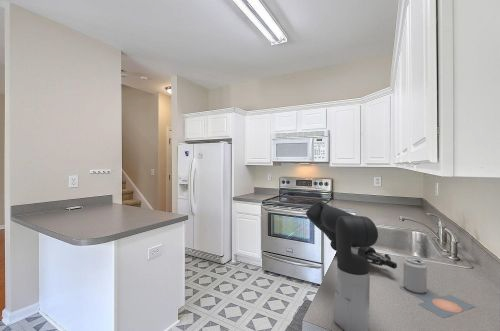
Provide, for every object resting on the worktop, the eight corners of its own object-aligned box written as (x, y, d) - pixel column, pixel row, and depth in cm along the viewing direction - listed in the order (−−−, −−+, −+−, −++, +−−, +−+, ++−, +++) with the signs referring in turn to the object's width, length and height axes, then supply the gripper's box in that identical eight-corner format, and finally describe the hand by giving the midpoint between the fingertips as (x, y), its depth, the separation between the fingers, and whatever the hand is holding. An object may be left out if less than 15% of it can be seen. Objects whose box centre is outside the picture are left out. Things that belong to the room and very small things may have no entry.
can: (430, 295, 87) (431, 264, 87) (408, 293, 89) (408, 262, 89) (420, 285, 95) (420, 256, 95) (400, 283, 96) (400, 255, 96)
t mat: (443, 319, 75) (443, 317, 75) (391, 290, 91) (391, 289, 91) (475, 307, 81) (475, 306, 81) (421, 282, 98) (421, 282, 98)
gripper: (352, 246, 113) (384, 259, 97) (372, 243, 118) (406, 255, 102) (352, 261, 113) (384, 277, 97) (372, 257, 118) (406, 272, 102)
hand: (395, 266), depth 99 cm, fingers closed
